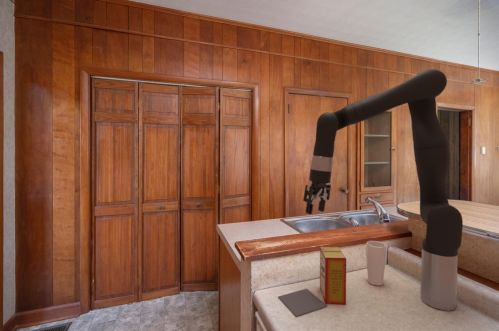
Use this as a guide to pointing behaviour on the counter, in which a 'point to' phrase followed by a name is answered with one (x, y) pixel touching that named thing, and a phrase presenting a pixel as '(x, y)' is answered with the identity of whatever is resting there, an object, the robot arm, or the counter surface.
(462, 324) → the counter surface
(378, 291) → the counter surface
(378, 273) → the pinkish beige cup
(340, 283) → the baking soda box
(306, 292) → the mat
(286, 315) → the counter surface
